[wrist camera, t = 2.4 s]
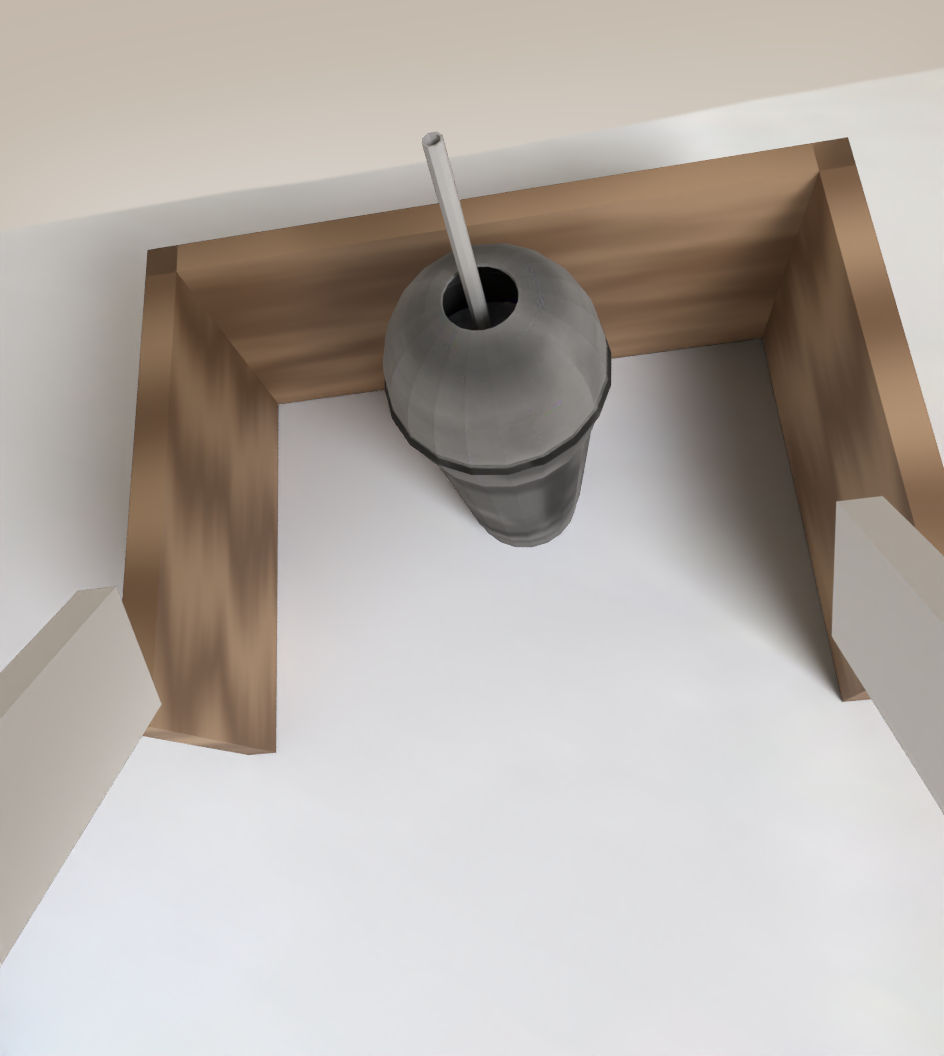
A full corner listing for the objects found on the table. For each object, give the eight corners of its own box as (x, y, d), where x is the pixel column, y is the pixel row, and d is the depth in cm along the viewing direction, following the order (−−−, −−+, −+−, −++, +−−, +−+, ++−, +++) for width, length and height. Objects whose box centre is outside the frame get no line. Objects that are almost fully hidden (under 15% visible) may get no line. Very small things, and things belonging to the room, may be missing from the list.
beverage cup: (483, 605, 36) (359, 372, 17) (420, 466, 38) (252, 132, 20) (637, 534, 36) (681, 225, 17) (564, 400, 38) (533, 4, 20)
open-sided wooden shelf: (874, 698, 32) (995, 646, 22) (248, 754, 35) (112, 730, 25) (783, 311, 38) (848, 137, 28) (255, 385, 41) (147, 250, 31)
